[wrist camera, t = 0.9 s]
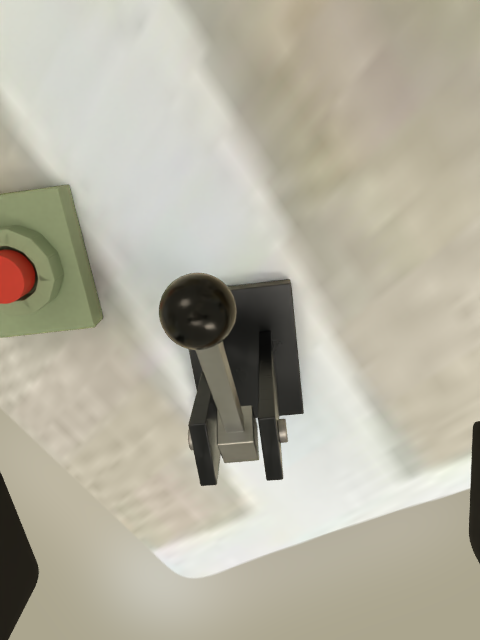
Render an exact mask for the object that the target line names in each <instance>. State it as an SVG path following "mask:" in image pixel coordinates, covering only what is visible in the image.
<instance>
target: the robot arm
mask: <svg viewBox="0 0 480 640" xmlns="http://www.w3.org/2000/svg"><path fill="white" fill-rule="evenodd" d="M469 537H470V542H471V546H472V548H473V551H474V554H475V556H476V557H477V559H478V561H479V563H480V421H478V422H475V423H474V425H473V439H472V465H471V490H470V516H469ZM38 574H39V571H38V564H37V562H36V559H35V557H34V554H33V552H32V549H31V547H30V544H29V542H28V539H27V537H26V534H25V532H24V529H23V527H22V524H21V522H20V519H19V517H18V514H17V512H16V509H15V507H14V504H13V502H12V499H11V497H10V494H9V492H8V489H7V487H6V485H5V482H4V479H3V477H2V474H1V473H0V640H8V639H9V637H10V635H11V633H12V631H13V629H14V627H15V625H16V623H17V621H18V619H19V617H20V615H21V613H22V611H23V609H24V608H25V605H26V604H27V602H28V599H29V598H30V596H31V594H32V592H33V590H34V588H35V586H36V583H37V580H38Z"/></svg>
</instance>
